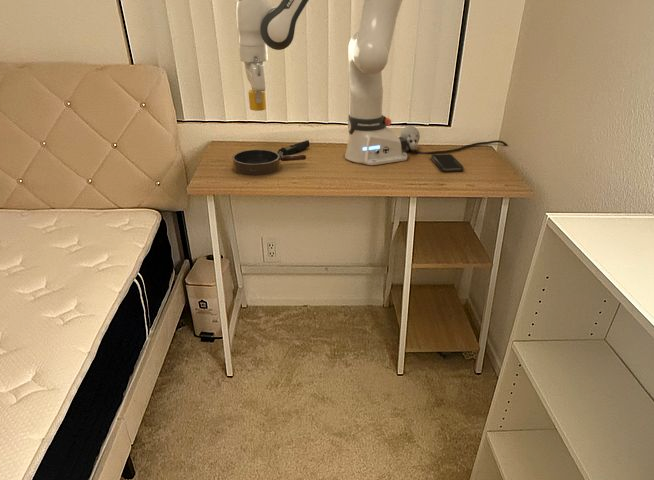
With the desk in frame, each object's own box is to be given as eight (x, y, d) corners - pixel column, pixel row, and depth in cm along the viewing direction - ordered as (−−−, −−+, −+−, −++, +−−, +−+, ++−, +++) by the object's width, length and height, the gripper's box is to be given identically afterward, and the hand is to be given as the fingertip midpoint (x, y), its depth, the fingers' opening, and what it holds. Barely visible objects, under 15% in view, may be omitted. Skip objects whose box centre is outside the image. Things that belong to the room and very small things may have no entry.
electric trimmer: (312, 149, 207) (312, 140, 205) (283, 159, 197) (283, 149, 195) (304, 147, 208) (304, 138, 207) (275, 157, 198) (275, 147, 197)
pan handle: (305, 158, 192) (305, 153, 191) (306, 160, 190) (306, 155, 189) (279, 160, 190) (279, 155, 189) (280, 162, 188) (280, 156, 187)
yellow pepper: (264, 106, 193) (263, 86, 189) (266, 110, 188) (265, 89, 185) (249, 107, 191) (247, 86, 188) (250, 111, 187) (249, 90, 183)
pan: (276, 159, 196) (275, 148, 194) (283, 174, 184) (283, 162, 182) (231, 162, 193) (230, 151, 190) (236, 178, 181) (234, 165, 178)
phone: (442, 168, 188) (430, 154, 199) (442, 172, 188) (430, 157, 200) (464, 168, 189) (451, 154, 200) (464, 171, 189) (451, 157, 201)
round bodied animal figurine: (402, 157, 200) (404, 133, 195) (397, 147, 210) (399, 123, 205) (422, 157, 201) (424, 132, 196) (416, 147, 210) (418, 123, 205)
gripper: (268, 59, 173) (271, 107, 181) (259, 49, 188) (262, 93, 197) (247, 60, 171) (251, 108, 180) (240, 49, 187) (244, 94, 195)
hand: (257, 100), depth 188 cm, fingers closed on yellow pepper, 5 cm apart
